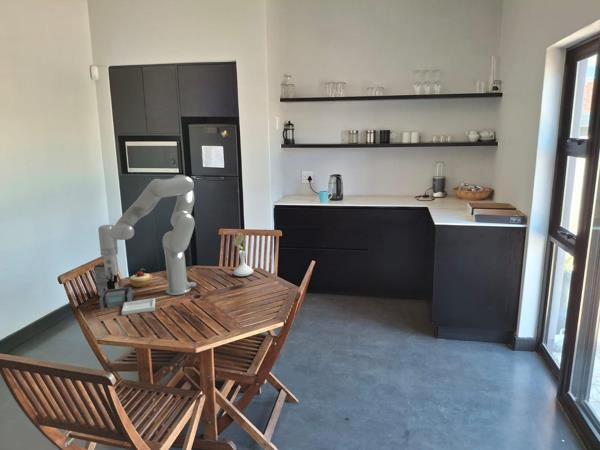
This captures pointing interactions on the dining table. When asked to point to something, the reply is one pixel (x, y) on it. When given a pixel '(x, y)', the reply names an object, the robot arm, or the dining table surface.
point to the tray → (138, 306)
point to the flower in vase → (242, 268)
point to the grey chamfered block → (115, 298)
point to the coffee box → (102, 278)
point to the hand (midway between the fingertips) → (112, 285)
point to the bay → (103, 296)
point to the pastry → (141, 279)
